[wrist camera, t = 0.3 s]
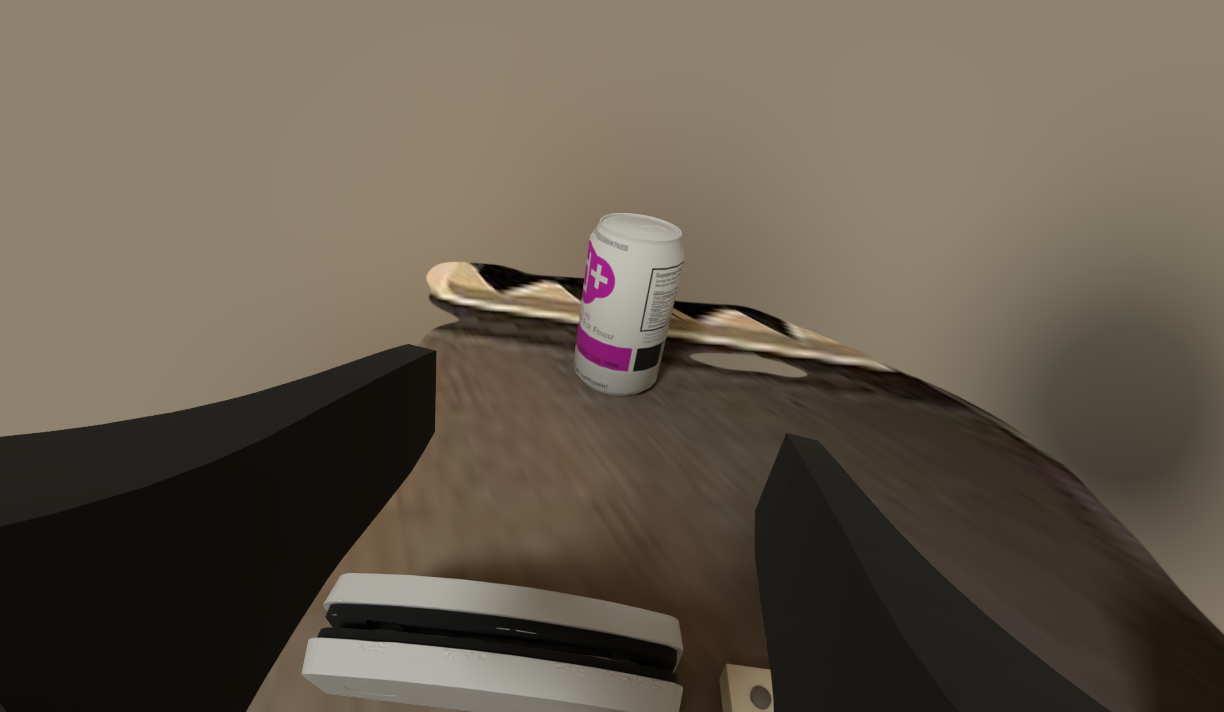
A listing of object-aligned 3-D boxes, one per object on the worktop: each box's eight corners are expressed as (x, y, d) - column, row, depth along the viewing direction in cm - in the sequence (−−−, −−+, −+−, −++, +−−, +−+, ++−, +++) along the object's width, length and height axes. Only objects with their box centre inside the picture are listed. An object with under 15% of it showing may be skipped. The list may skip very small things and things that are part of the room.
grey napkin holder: (666, 635, 30) (715, 582, 22) (664, 738, 27) (720, 719, 19) (367, 596, 29) (310, 528, 21) (330, 697, 26) (248, 660, 18)
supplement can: (581, 400, 48) (604, 240, 40) (567, 352, 54) (584, 207, 47) (666, 399, 50) (703, 247, 42) (642, 353, 56) (671, 214, 49)
